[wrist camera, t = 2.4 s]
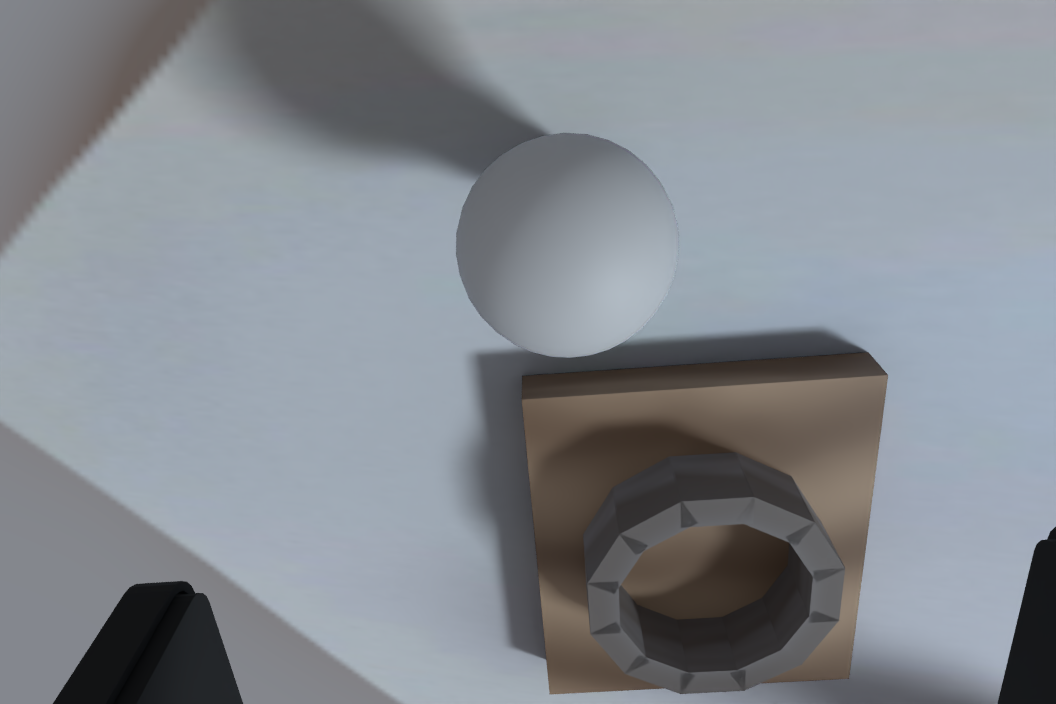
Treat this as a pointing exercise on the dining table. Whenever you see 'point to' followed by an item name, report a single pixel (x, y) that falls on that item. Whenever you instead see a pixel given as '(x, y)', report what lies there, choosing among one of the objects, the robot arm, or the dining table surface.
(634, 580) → the socket base
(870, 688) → the dining table surface
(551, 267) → the lightbulb
